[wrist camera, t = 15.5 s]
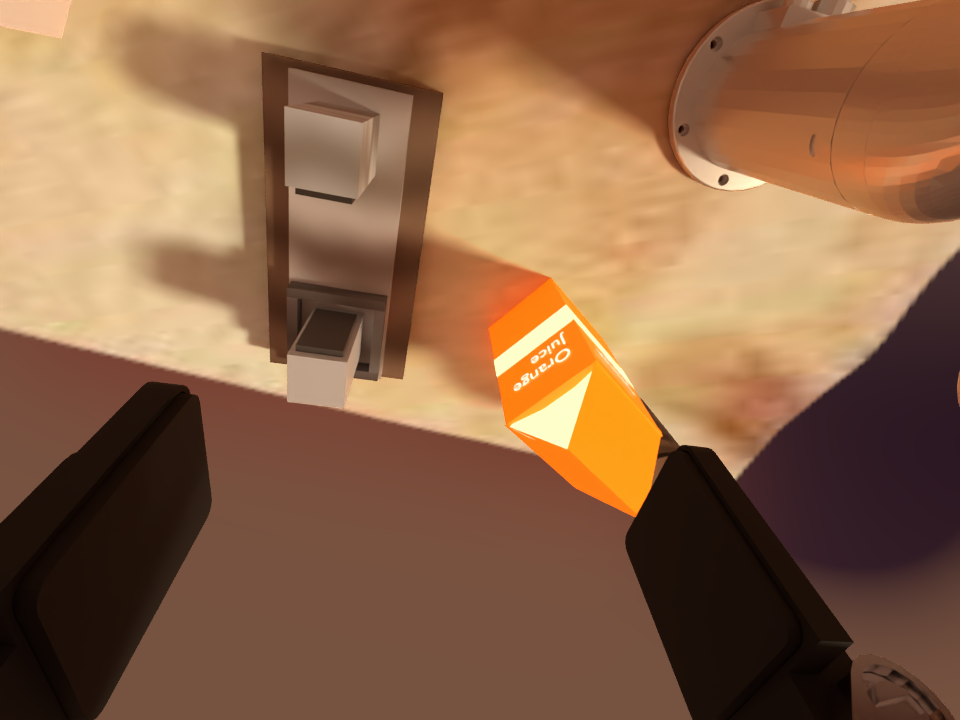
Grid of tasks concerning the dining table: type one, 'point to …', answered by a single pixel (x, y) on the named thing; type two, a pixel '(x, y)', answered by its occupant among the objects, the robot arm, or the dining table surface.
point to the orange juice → (573, 400)
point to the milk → (35, 16)
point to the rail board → (345, 202)
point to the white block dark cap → (325, 358)
